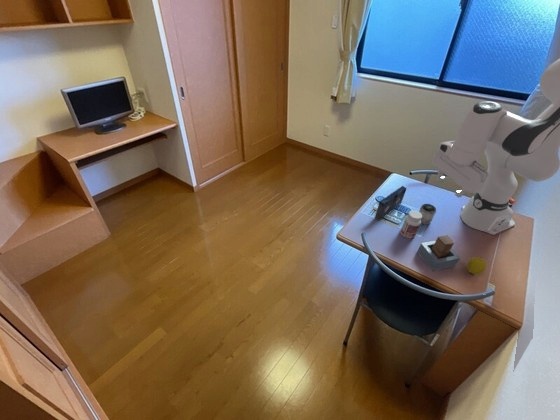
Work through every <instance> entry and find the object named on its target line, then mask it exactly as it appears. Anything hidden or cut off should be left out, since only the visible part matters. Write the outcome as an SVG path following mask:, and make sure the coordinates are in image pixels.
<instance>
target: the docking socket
mask: <svg viewBox="0 0 560 420" xmlns="http://www.w3.org/2000/svg"><path fill="white" fill-rule="evenodd" d="M436 240H437V239H435V240H432V241H426V242H421V243H420V245H419V247H418V249H417V251H416V252H417V253H418V255H419V256H420V257H421V259H423V261H424V262H425V264H427V266H428V267H429V269H430V270H431V271H432V272H435V271H439V270H440V271H441V270H443V269H449V268H454V267H456V265H458V262H460V259H461V257H460V256H459V254H458V253H457V252H456V251H455V250H454V249H453V247H452V248H451V250H450V251H449V253H448V255H447V256H446V258H441V259H438V258H437V257H436V256H435V254H434V253H433V252H432V251H431V249H432V247H433V246H434V244H435V242H436Z"/></svg>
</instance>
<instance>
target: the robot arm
mask: <svg viewBox="0 0 560 420" xmlns="http://www.w3.org/2000/svg"><path fill="white" fill-rule="evenodd" d="M539 89H540V91H541V93H542V95H543V96H544V97H545V98H546V99H547V100H549V101H550V102H551V104H550V105H548V107H546V108H545V109H544V110H543V112H541V113H540V114H539V115H538V116H537V117H536V118H535V119H528V118H525V117H522V116H521V115H518V114H516V113H513V112H511V111H508V110H505V108H503V107H502V105H501V104H500V103H497V102H494V101H488V100H487V101H485V100H484V101H479V102H477V103H475V104H473V105H472V107H471V108H470V109H469V111H468V112H467V114H466V115H465V117H464V118H463V120H462V122H461V125H460V128H459V130H458V135H457V137H456V138H455V140H449V141H442V142H439V144H438V148H437V149H436V151H434V154H433V157H432V159H431V161H432V165H433V166H434V167H436V168H437V178H436V180H437V181H438V182H440V183H442V182H444V181H445V178H446V177H445V176H444V174H445V175H446V176H447V177H449V178H450V179H451V180H452V181H453V182H455V183H456V184H457V185H459V187H460V190H456V191H455V193H454V195H455V196H456V197H457V198H462V197H463V195H464V194H466V193H468V194H470V195H473V194H474V196H472V197H470V199H469V200H468V202H467V203H466V205H463V206H462V207H461V213H460V215H459V216H460V219H461V220H462V221H463V223H465V224H466V225H467V226H468V227H470V228H472V229H474V230H478V231H480V232H481V231H482V232H485V233H488V234H490V235H492V236H493V235H497V234H499V233H501V232H504V231H506V230H508V229H510V228H513V227H515V225H516V222H515V220H514V219H513V218H514V217H513V216H514V211H513V209H512V208H511V207H510V206H509V204H510V205H514V204H515V203H516V199H513V198H512V196H513V195H514V194H515V192H516V190H518V186H519V184H518V183H519V181H518V180H517V178H516V176H515V174H517V175H518V176H520V177H522V178H524V179H527V180H530V181H533V182H536V183H537V182H544V181H547V180H548V179H550V178H553V176H555V174H556V173H557V172H558V171H559V169H560V156H559V151H560V58H558V59H556V60H555V61H554V62H552V63H551V64H550V65H549V66H548V67H547V68H546V69H545V70H544V71H543V72H542V74H541V76H540V79H539ZM483 154H484V155H485V157H486V162H487V168H486V167H485V166H484V165H482V164H481V163H479V161H480V159H481V157H482V156H483Z"/></svg>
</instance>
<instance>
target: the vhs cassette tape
mask: <svg viewBox="0 0 560 420" xmlns="http://www.w3.org/2000/svg"><path fill="white" fill-rule="evenodd" d="M405 193H407V187H405V186H404V185H402V186H401V187H399V188H396V190H395V191H393V192H391V193H390V194H389V195H387V196H386V197H385V198H383V199H381V200H380V201H379V202H378V206H377V209H376V212H375V216H374V218H375V219H376V220H378V221H380V220H382V219H383V218H385V217H386V216H387V215H389V214H390V213H391V212H392V210H393V209H394V208H395V207H396V206H398V205H399V204H401V205H402V202H403V199H404V197H405ZM399 206H400V205H399ZM399 206H398V207H399ZM395 209H396V208H395ZM395 209H394V210H395ZM394 210H393V211H394ZM390 211H391V212H390ZM389 212H390V213H389ZM388 213H389V214H388ZM386 214H387V215H386ZM385 215H386V216H385ZM384 216H385V217H384Z"/></svg>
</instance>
